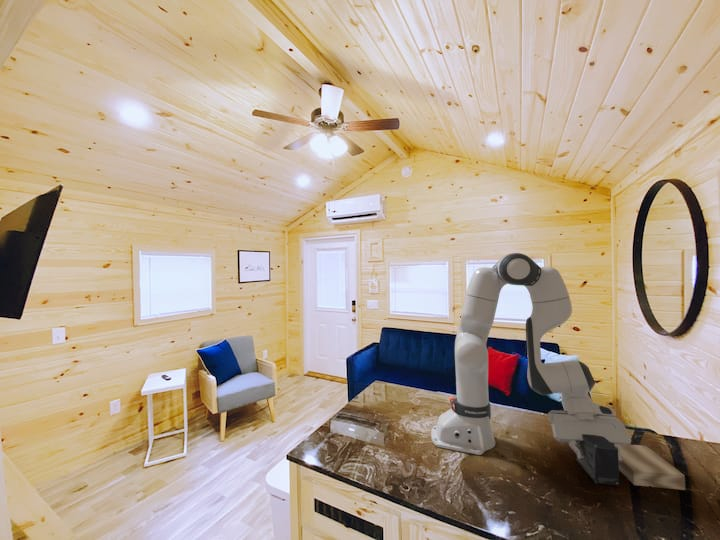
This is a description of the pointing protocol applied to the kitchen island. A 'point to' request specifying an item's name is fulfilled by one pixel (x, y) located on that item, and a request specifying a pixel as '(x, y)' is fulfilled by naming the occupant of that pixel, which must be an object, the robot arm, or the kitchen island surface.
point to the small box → (599, 459)
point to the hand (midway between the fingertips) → (600, 460)
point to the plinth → (649, 468)
